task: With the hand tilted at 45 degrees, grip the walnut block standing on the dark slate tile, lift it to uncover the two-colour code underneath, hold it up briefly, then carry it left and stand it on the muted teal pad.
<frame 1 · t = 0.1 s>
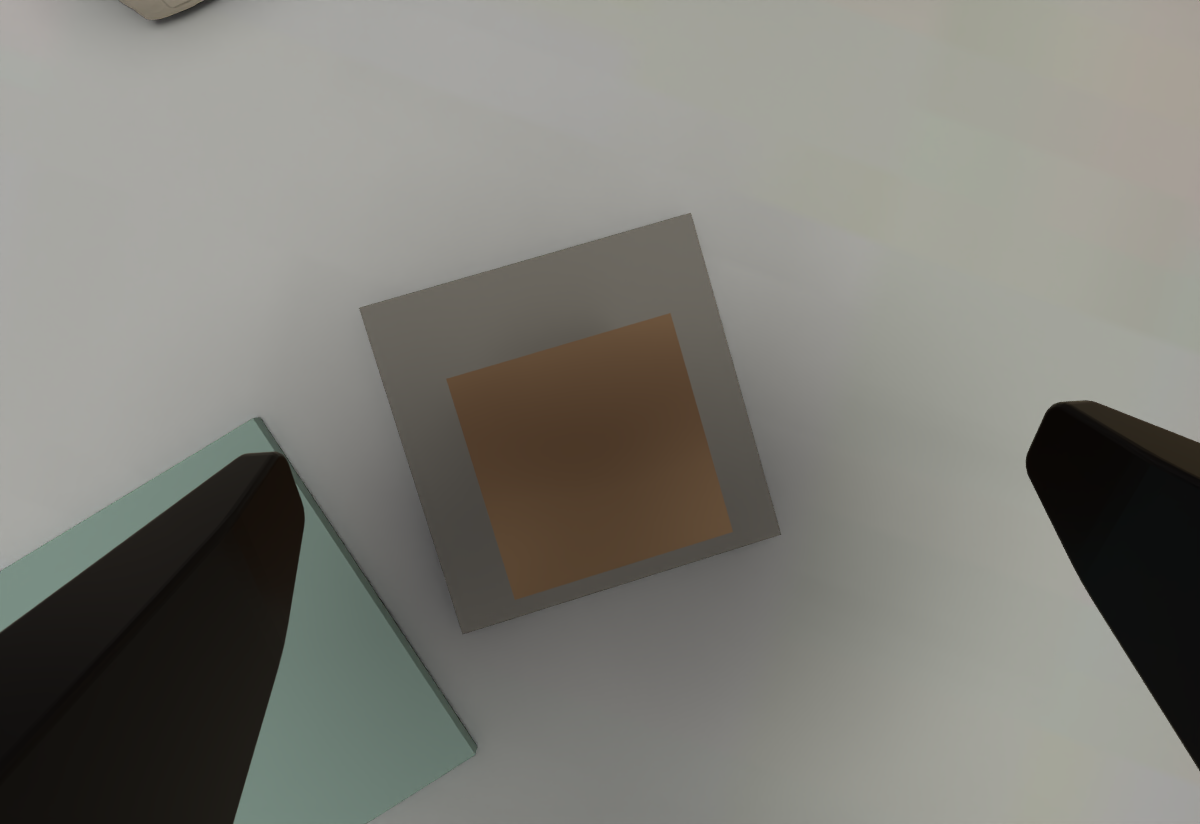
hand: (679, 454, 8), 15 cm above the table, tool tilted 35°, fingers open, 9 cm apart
code tile: (575, 423, 23), on the table
teal pad: (198, 692, 23), on the table
walnut block: (576, 424, 23), resting on code tile
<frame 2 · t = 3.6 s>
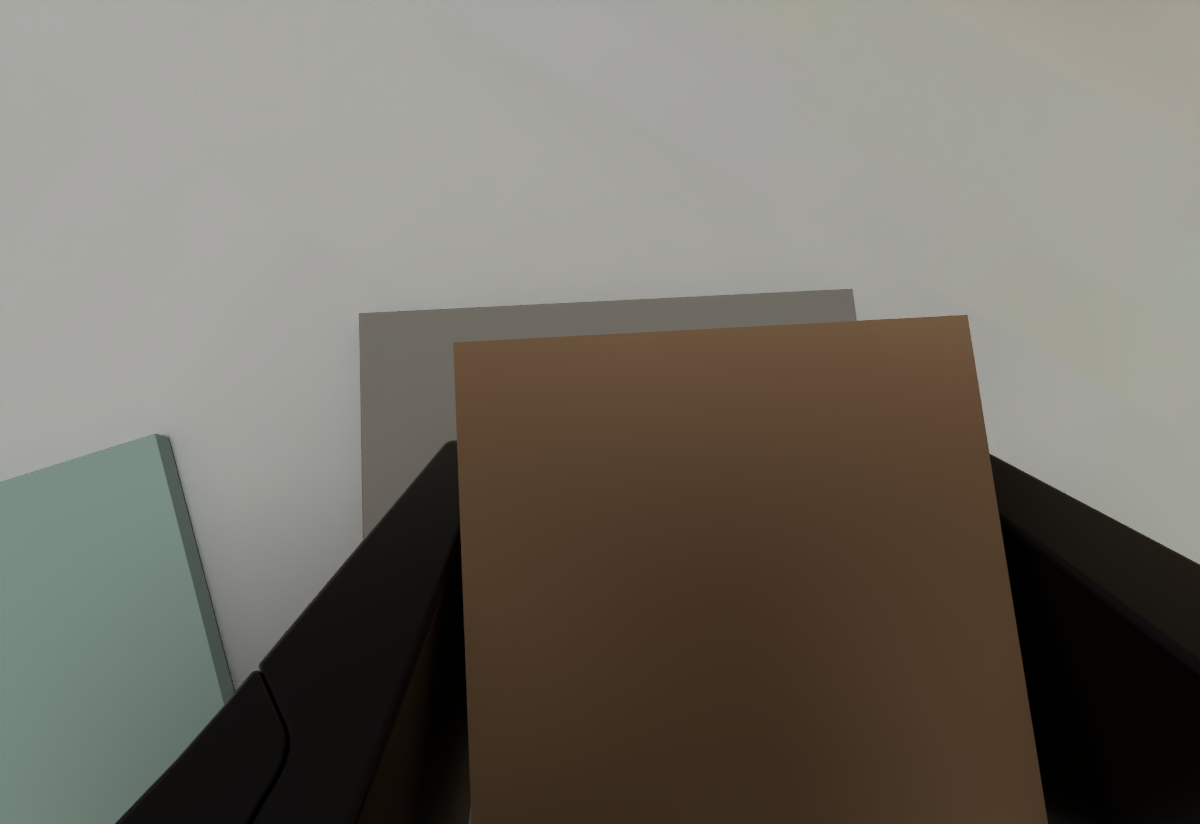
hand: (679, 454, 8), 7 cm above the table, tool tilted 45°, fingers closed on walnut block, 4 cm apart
code tile: (629, 552, 15), on the table
walnut block: (631, 552, 15), resting on code tile, touching gripper
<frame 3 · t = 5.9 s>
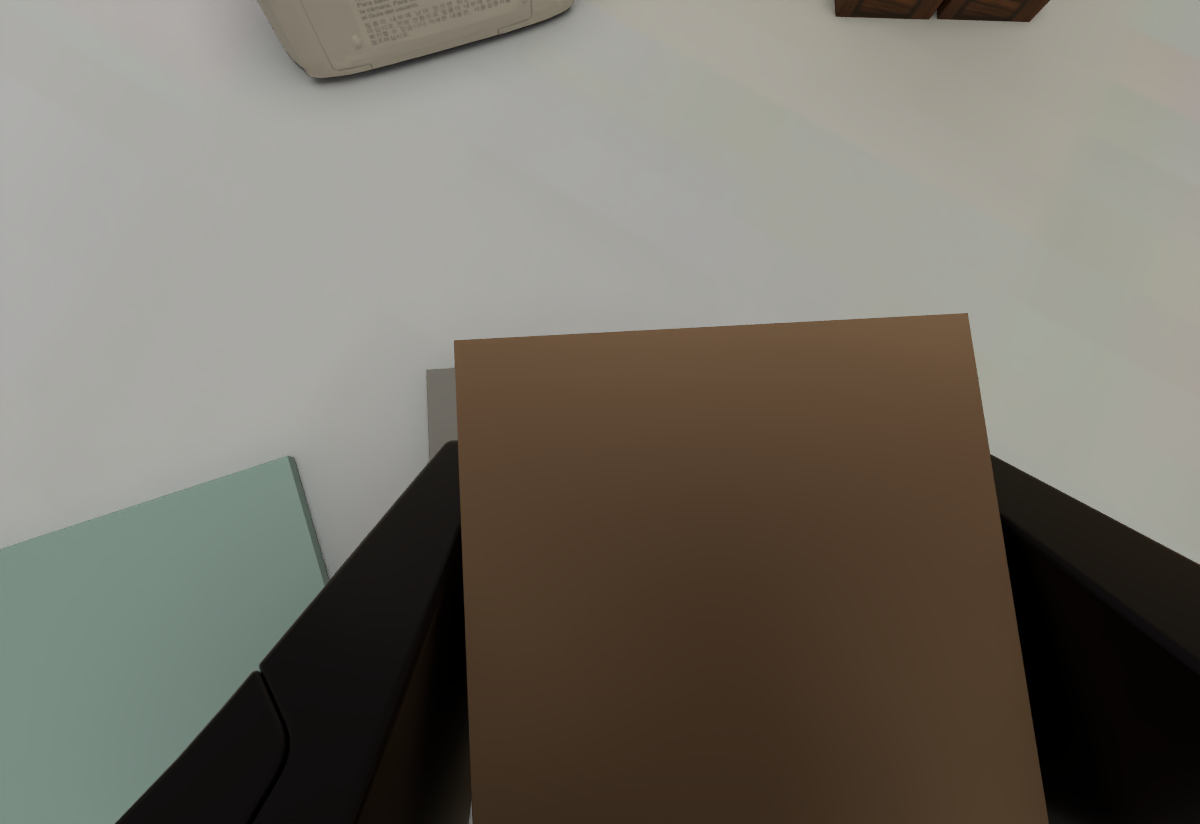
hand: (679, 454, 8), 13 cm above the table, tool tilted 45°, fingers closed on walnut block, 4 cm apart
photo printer: (434, 9, 24), on the table
code tile: (616, 537, 21), on the table
teal pad: (128, 749, 20), on the table
walnut block: (631, 552, 15), point 7 cm above the table, touching gripper
when the fingers open (8 cm above the table, at t = 8.5 s): walnut block drops 1 cm, resting on teal pad.
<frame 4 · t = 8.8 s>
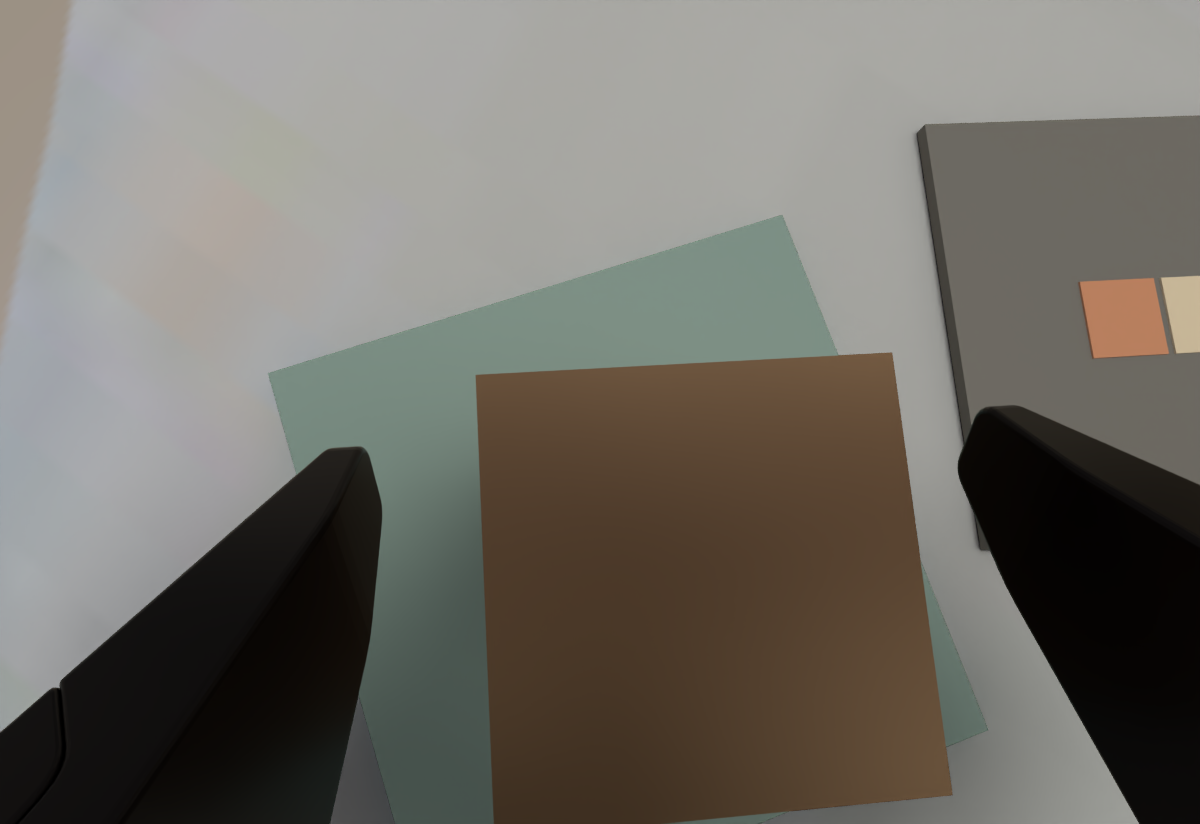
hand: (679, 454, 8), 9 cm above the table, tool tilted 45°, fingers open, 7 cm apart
code tile: (1149, 320, 18), on the table
teal pad: (622, 549, 16), on the table
walnut block: (624, 548, 16), resting on teal pad
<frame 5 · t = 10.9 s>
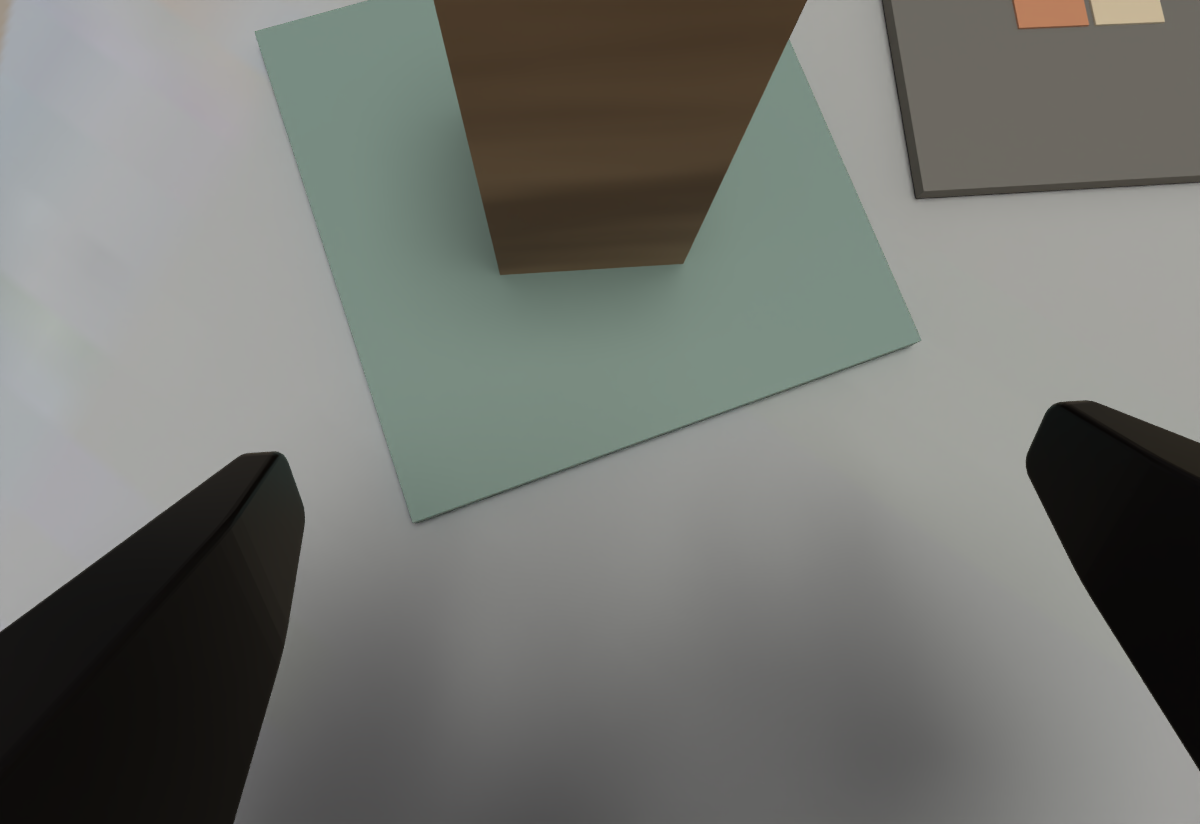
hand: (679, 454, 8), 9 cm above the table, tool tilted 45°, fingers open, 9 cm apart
code tile: (1073, 4, 20), on the table
teal pad: (584, 193, 18), on the table
walnut block: (584, 183, 17), resting on teal pad
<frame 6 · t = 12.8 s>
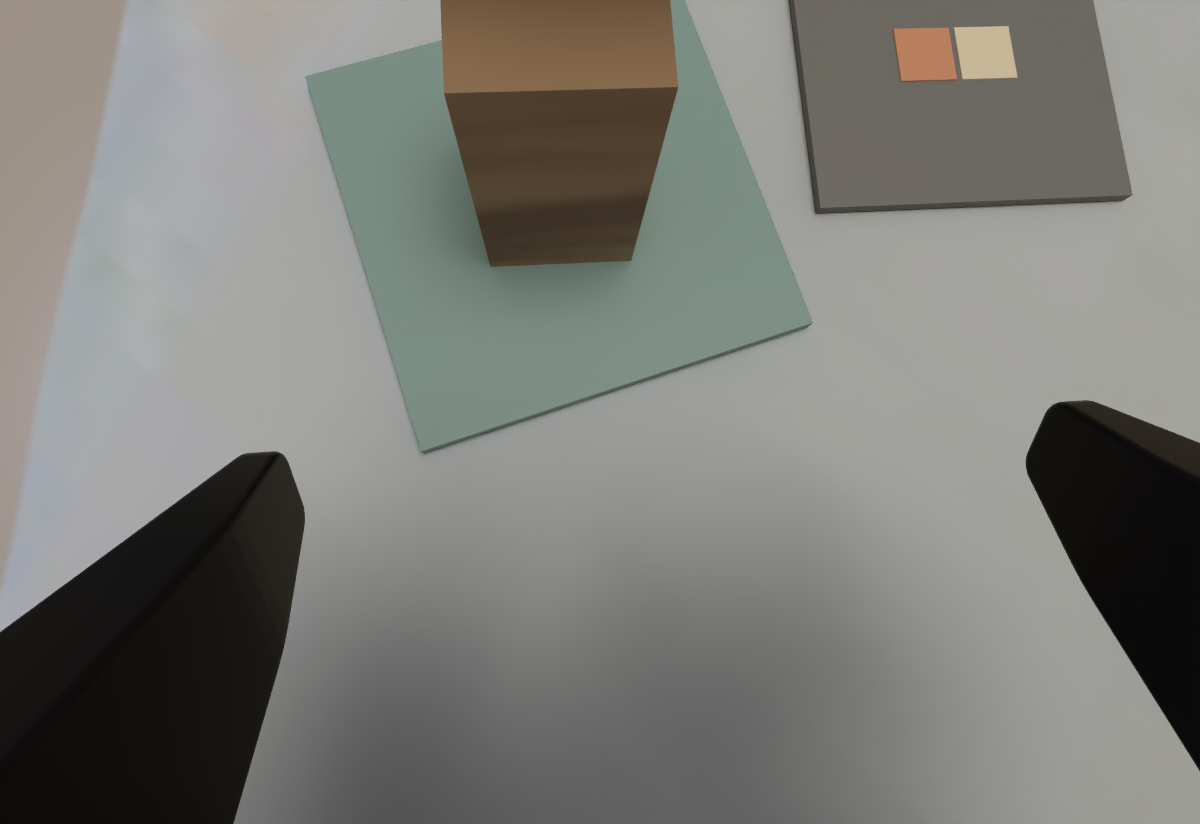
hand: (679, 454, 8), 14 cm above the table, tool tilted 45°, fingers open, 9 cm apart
code tile: (948, 61, 25), on the table
teal pad: (557, 205, 23), on the table
walnut block: (557, 197, 23), resting on teal pad
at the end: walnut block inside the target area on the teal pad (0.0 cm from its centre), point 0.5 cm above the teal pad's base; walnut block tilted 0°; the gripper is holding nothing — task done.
